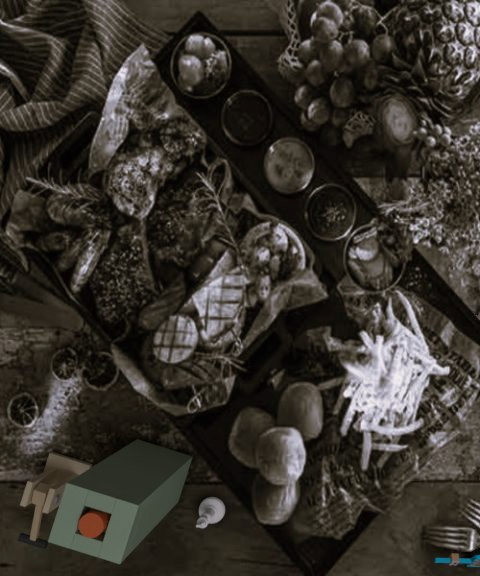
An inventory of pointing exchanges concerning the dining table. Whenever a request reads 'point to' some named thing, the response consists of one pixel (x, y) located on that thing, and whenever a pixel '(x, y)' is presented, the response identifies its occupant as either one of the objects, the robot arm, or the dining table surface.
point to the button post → (121, 499)
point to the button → (93, 523)
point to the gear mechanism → (459, 560)
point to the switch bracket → (54, 479)
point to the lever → (37, 517)
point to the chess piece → (210, 511)
